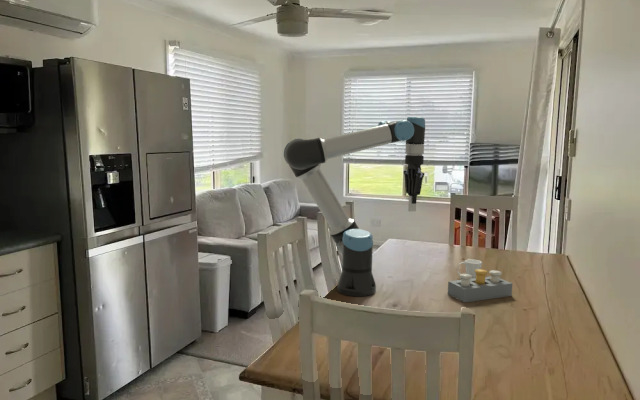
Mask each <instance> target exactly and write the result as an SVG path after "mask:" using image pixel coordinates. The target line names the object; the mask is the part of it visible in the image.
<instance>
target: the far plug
mask: <svg viewBox="0 0 640 400" xmlns="http://www.w3.org/2000/svg"><path fill="white" fill-rule="evenodd" d="M502 273H503V272H502V271H499V270H494V269H492V270H489V273H488V274H490V276H491V277H490V276H489V277H490V282H493V283H499V282H500V279H501V276H502Z"/></svg>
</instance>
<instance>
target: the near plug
mask: <svg viewBox="0 0 640 400" xmlns="http://www.w3.org/2000/svg"><path fill="white" fill-rule="evenodd" d="M459 278H460V280H461V286H463V287H467V286H470V279H471V278H472V275H470V274H466V273H460V275H459Z"/></svg>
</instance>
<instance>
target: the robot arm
mask: <svg viewBox="0 0 640 400" xmlns="http://www.w3.org/2000/svg"><path fill="white" fill-rule="evenodd" d="M425 134H426V119H425V118H424V117H423V116H408V117H407V118H406V119H405V120H404V119H402V120H395V121H394V120H393V121H389V120H388V121H387V120H385V121H384V120H383V121H382V120H381V121H379V122H378V124H377V126H373V127H369V128H364V129H361V130H357V131H353V132H348V133H345V134H340V135H336V136H332V137H327V138H324V139H322V137H317V138H312V139H303V138H295V139H293V140H291V141H289V142H287V144H286V145H285V146H284V150H283V157H284V160H285V162H286V164H288V165H289V167H290V170H291V171H292V173H293V174H294V176H295V178H297V179H300V180H301V181H302V182H303V183H304V186H305V188H306V189H307V191H308V193H309V194H310V196H311V198H312V199H313V201H314V202H315V205H316V206H317V208H318V209H319V211H320V212H321V213H320V214H321V215H322V216H323V218H324V219H325V221H326V222H327V224H328V226H329V228H330V229H329V235H330V236H331V238H332V240H333V242H334V243H335V246H336V248H337V249H338V251H340V253H341V255H342V256H341V257H342V258H341V260H342V261H341V263H342V265H341V273H340V276H339V279H338V281H337V287H336V289H337V292H338V293H340V294H342V295H344V296H349V297H367V296H372V295H373V294H375V293H376V292H377V284H376V281H375V278H374V274H373V269H372V268H373V245H374V239H373V238H374V237H373V234H372V233H371V232H370V231H368V230H365V229H363V228H359V225H357V223H356V221H355V219H354V218H351V217H349V216H348V214H347V212H346V211H345V209H344V207H343V205H342V204H341V202H340V201H339V199H338V197H337V195H336V194H335V192H334V190H333V188H332V187H331V185H330V184H329V181H328V180H327V178H326V176H325V175H324V173H323V172H322V169H321V165H322V164H325V163H327V161H328V160H329V159H335V158H338V157H340V156H346V155H350V154H353V153H357V152H361V151H365V150H369V149H373V148H377V147H381V146H385V145H389V144H393V143H397V142H401V141H402V142H405V152H404V154H406V155H405V158H404V163H405V165H407V167H406V170H403V175H404V182H405V183H404V184H405V185H404V187H405V194H407V195H408V209H407V210H408V212H416V211H417V197H418V196H420V195H421V192H422V185H423V180H424V176H425V172H422V167H421V166H422V165H424V163H425V162H424V159H425V158H424V155H425V139H426V138H425V136H426V135H425Z"/></svg>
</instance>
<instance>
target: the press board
mask: <svg viewBox="0 0 640 400" xmlns="http://www.w3.org/2000/svg"><path fill="white" fill-rule="evenodd" d="M490 277H491V275H490V276H485V284H483V285H478V284H476V278H472V279H470V286H467V287H463V286H461V279H456V280H449V281H448V284H447V294H448V295H449V296H451V297H453V298H455V299H457V300H459V301H461V302H463V303H469V302H471V303H472V302H477V301H483V300H484V301H485V300H492V299H498V298H506V297H512V296H513V293H512V292H513V282H510V281H507V280H505V279H503V278H500V282H499V283H493V282H490Z"/></svg>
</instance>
